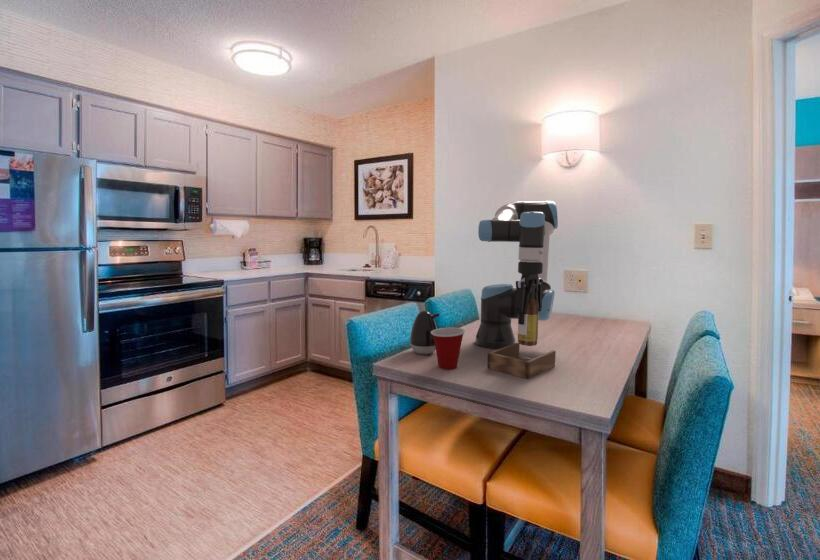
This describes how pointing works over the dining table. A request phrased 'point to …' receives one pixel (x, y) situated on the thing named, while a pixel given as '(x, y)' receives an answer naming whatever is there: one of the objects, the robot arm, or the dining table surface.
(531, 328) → the sauce bottle
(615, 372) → the dining table surface
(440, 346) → the plastic cup
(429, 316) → the pump dispenser
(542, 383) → the dining table surface
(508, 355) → the frame
